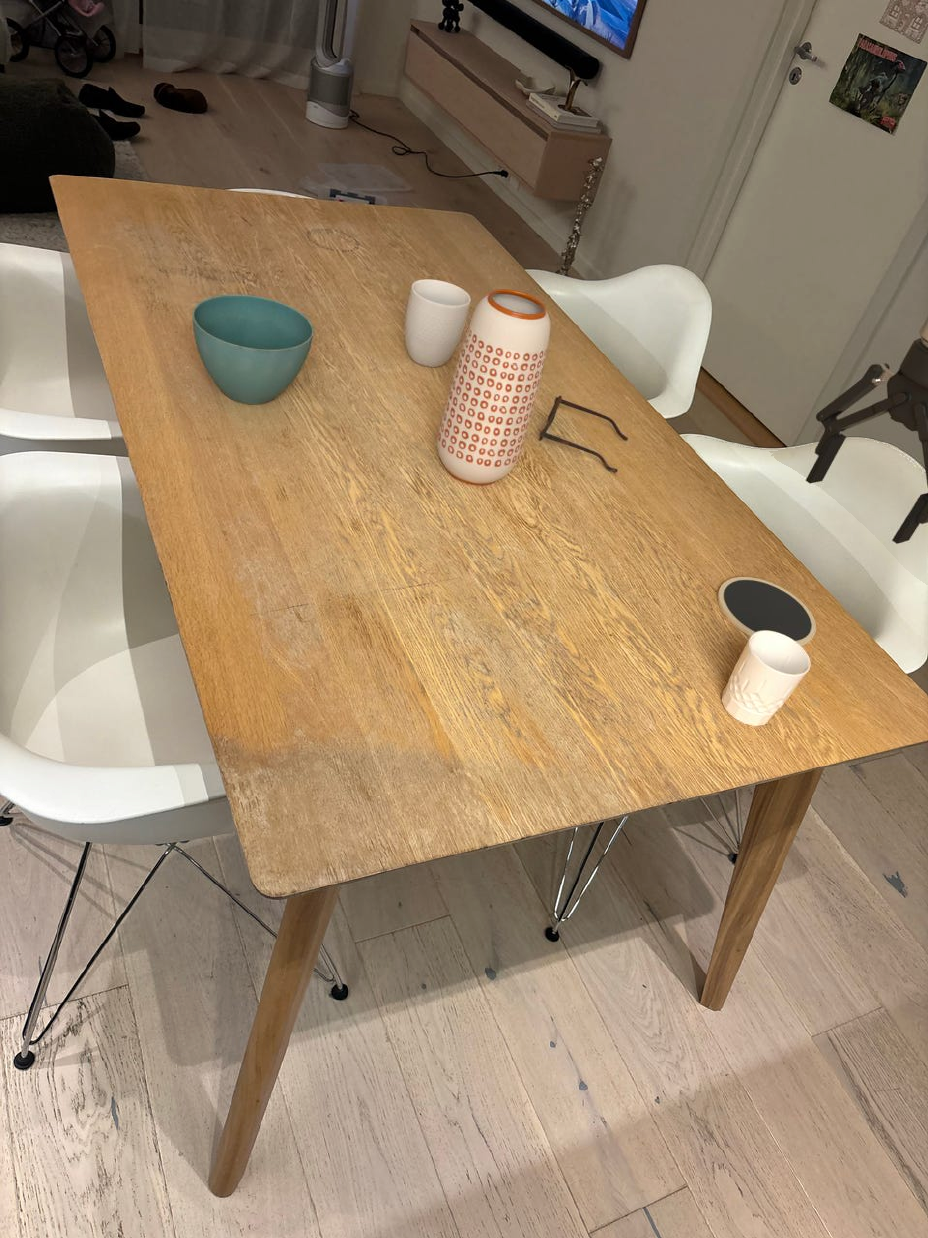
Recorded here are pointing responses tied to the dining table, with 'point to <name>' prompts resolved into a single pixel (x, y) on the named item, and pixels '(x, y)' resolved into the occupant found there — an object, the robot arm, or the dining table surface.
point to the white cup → (764, 677)
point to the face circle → (765, 609)
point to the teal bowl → (251, 345)
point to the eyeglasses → (557, 439)
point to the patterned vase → (494, 387)
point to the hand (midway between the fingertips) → (855, 509)
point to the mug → (435, 321)
